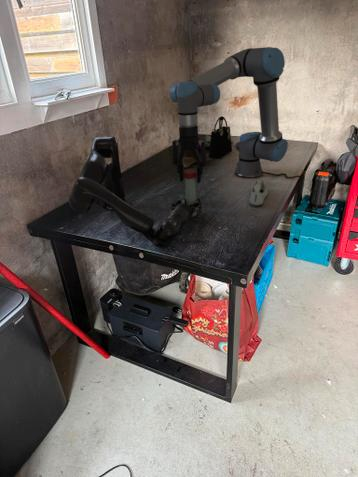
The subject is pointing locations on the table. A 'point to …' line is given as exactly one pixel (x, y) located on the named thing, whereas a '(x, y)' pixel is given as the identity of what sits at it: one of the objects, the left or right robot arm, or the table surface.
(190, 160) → the boot
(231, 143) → the pair of gloves
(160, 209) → the table surface
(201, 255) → the table surface
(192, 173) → the lid
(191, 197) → the bottle
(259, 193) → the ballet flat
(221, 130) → the handbag
